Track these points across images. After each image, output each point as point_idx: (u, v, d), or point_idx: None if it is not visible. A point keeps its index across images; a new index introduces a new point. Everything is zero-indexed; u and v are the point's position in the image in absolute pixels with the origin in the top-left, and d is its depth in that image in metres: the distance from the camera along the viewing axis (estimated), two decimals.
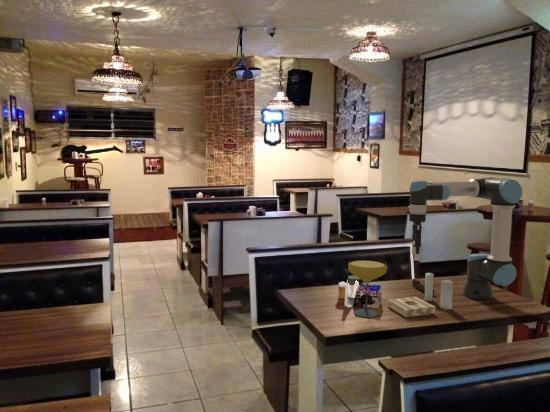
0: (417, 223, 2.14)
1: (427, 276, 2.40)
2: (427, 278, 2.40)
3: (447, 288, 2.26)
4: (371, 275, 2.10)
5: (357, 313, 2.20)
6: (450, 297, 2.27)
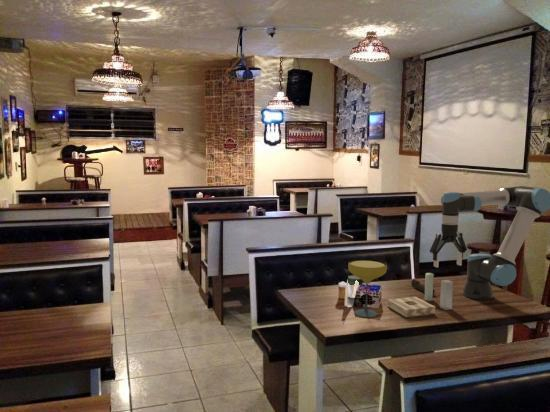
0: (442, 232, 2.24)
1: (427, 276, 2.40)
2: (427, 278, 2.40)
3: (447, 288, 2.26)
4: (371, 275, 2.10)
5: (357, 313, 2.20)
6: (450, 297, 2.27)
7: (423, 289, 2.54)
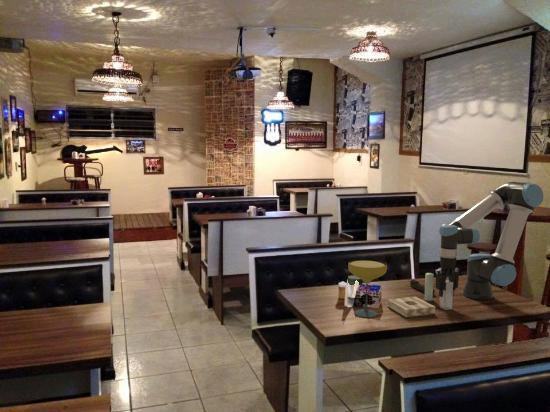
0: (440, 266, 2.26)
1: (427, 276, 2.40)
2: (427, 278, 2.40)
3: (447, 288, 2.26)
4: (371, 275, 2.10)
5: (357, 313, 2.20)
6: (450, 297, 2.27)
7: (423, 289, 2.54)
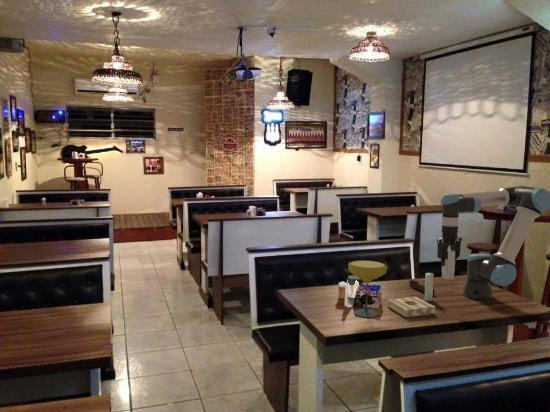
0: None
1: (427, 276, 2.40)
2: (427, 278, 2.40)
3: (448, 257, 2.24)
4: (371, 275, 2.10)
5: (357, 313, 2.20)
6: (452, 266, 2.25)
7: (423, 289, 2.54)
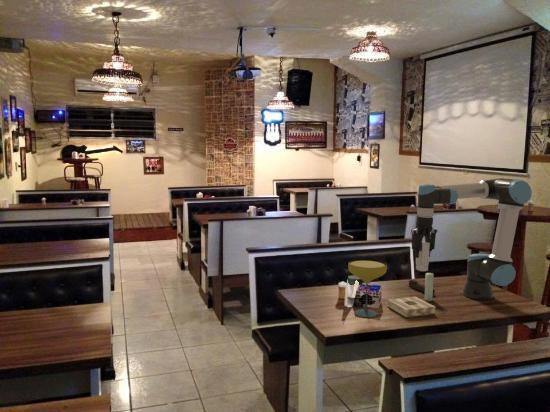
0: None
1: (427, 276, 2.40)
2: (427, 278, 2.40)
3: (423, 248, 2.21)
4: (371, 275, 2.10)
5: (357, 313, 2.20)
6: (426, 258, 2.22)
7: (423, 289, 2.54)
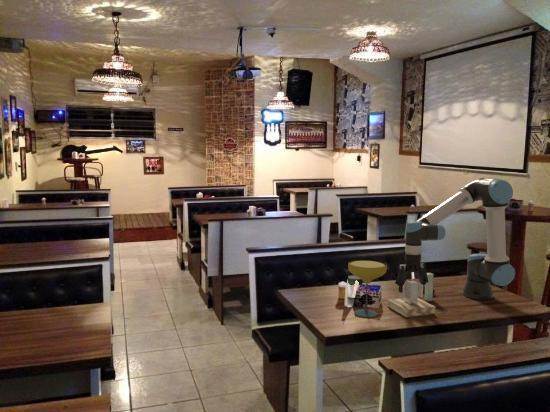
0: (405, 262, 2.22)
1: (427, 276, 2.40)
2: None
3: (412, 288, 2.22)
4: (371, 275, 2.10)
5: (357, 313, 2.20)
6: (415, 298, 2.23)
7: None
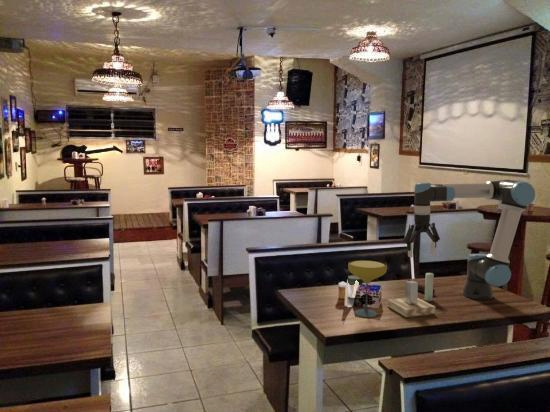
0: (415, 222, 2.27)
1: (427, 276, 2.40)
2: (428, 278, 2.40)
3: (411, 289, 2.22)
4: (371, 275, 2.10)
5: (357, 313, 2.20)
6: (415, 298, 2.23)
7: (422, 289, 2.54)
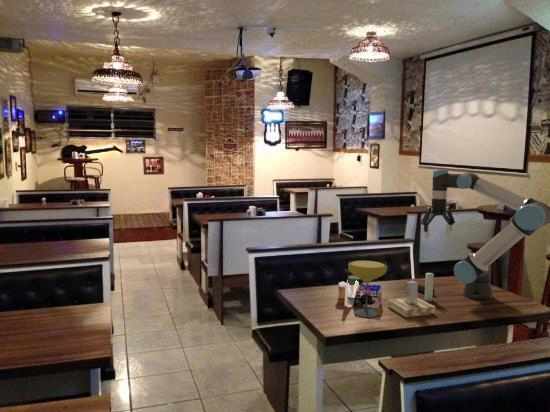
0: (432, 206, 2.47)
1: (427, 276, 2.40)
2: (428, 278, 2.40)
3: (411, 289, 2.22)
4: (371, 275, 2.10)
5: (357, 313, 2.20)
6: (415, 298, 2.23)
7: (422, 289, 2.54)
